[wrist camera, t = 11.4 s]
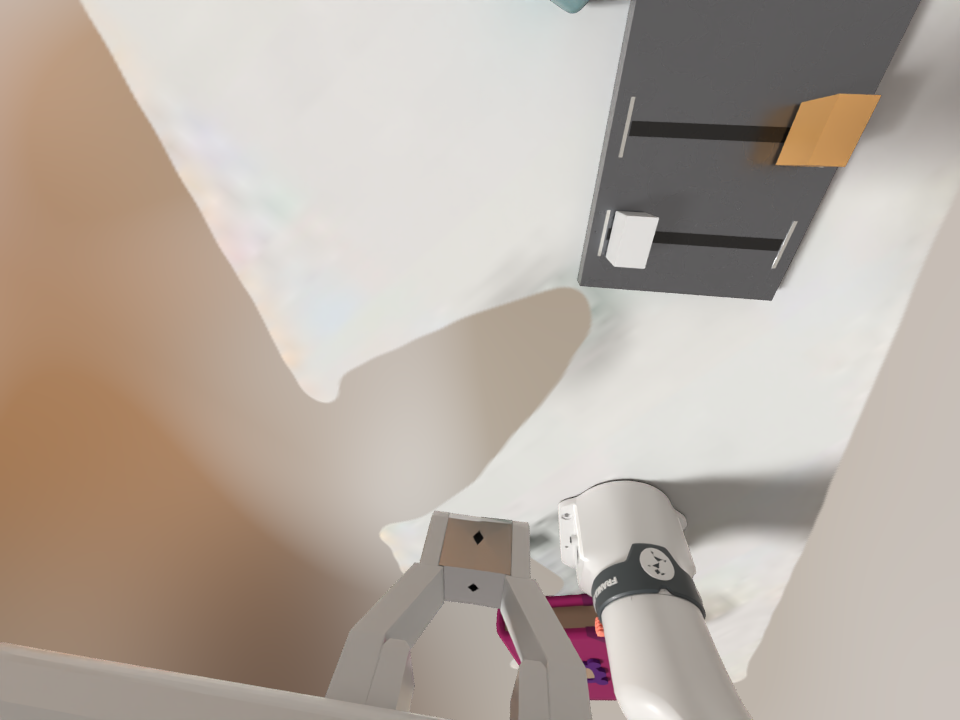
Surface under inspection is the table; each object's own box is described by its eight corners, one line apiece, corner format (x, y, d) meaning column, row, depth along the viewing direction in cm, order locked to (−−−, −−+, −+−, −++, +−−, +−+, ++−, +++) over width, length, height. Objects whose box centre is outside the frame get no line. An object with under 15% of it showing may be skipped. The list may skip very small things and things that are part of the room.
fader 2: (808, 166, 27) (845, 166, 24) (775, 165, 27) (807, 164, 24) (837, 103, 25) (881, 95, 22) (801, 102, 25) (839, 93, 22)
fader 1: (632, 258, 32) (644, 268, 29) (605, 257, 32) (614, 266, 29) (645, 212, 30) (659, 217, 27) (616, 210, 30) (626, 215, 27)
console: (758, 293, 34) (771, 300, 32) (577, 280, 35) (580, 286, 34) (906, -18, 23) (937, -33, 21) (634, -21, 24) (643, -36, 23)
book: (536, 660, 81) (537, 704, 74) (497, 598, 69) (494, 643, 62) (628, 658, 75) (638, 705, 69) (604, 590, 63) (613, 639, 57)
